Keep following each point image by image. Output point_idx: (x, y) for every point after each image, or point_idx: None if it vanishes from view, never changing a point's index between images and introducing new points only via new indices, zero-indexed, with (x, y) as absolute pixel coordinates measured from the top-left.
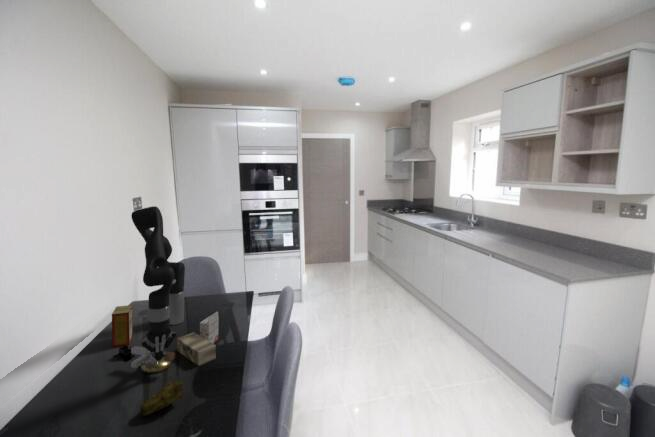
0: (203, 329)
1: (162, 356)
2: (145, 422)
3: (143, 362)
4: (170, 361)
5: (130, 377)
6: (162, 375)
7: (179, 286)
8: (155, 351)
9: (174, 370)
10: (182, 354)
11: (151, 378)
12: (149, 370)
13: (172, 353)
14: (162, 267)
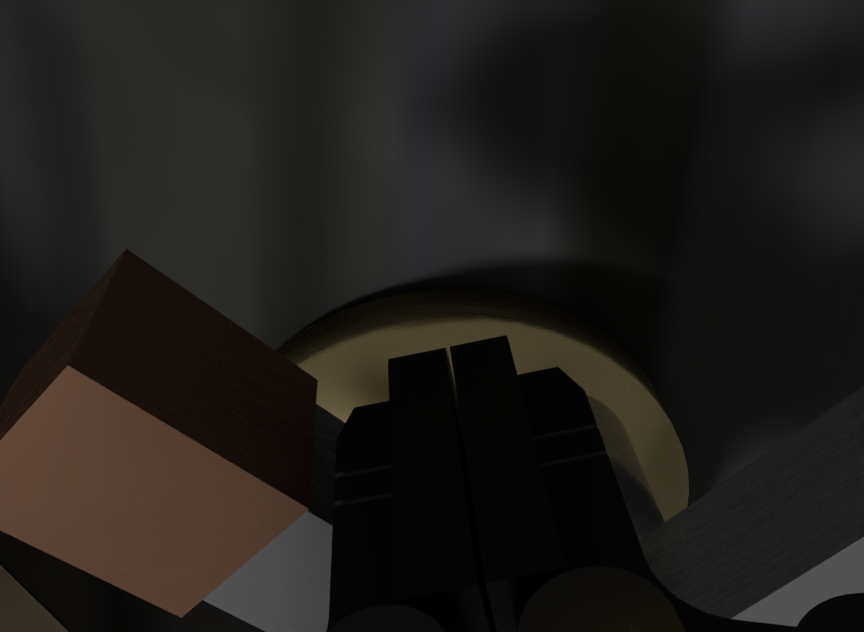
0: None
1: (359, 444)
2: None
3: (810, 437)
4: (130, 252)
5: (841, 325)
6: (360, 163)
7: None
8: (668, 629)
9: (138, 236)
10: (52, 616)
11: (556, 150)
12: (584, 342)
13: (22, 482)
14: None
